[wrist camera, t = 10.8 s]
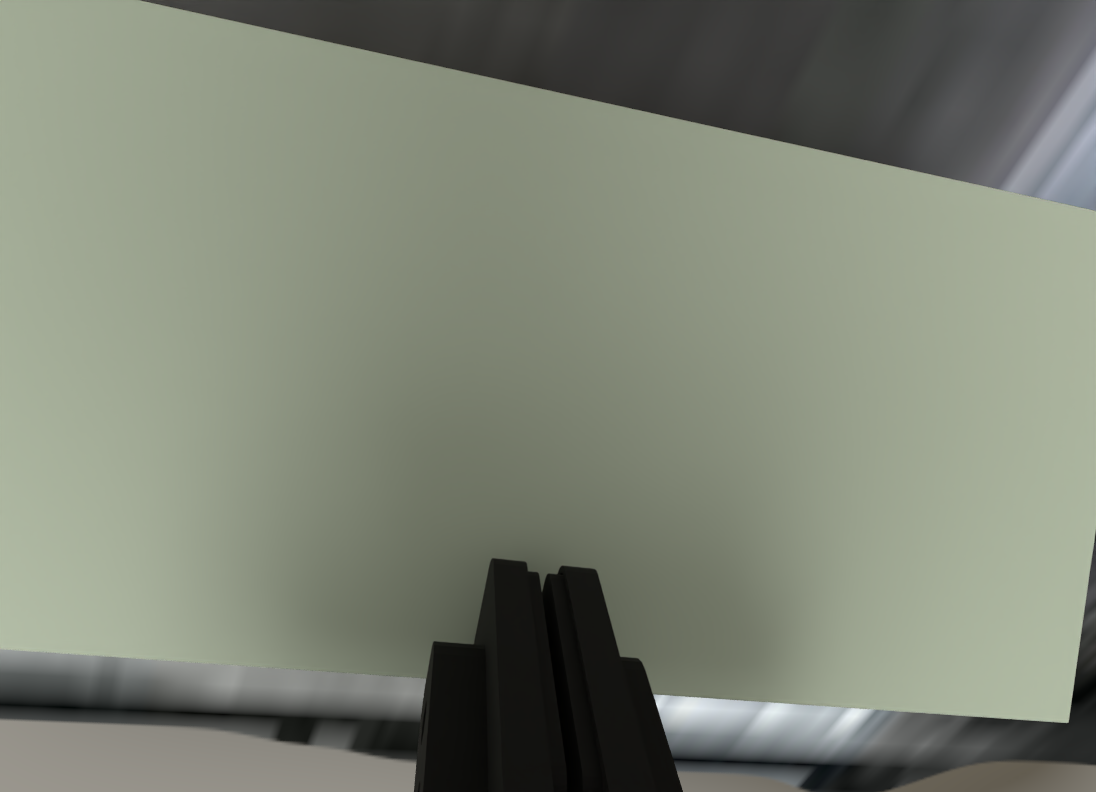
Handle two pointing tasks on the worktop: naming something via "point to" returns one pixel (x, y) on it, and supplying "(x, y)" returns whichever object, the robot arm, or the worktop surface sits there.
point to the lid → (521, 377)
